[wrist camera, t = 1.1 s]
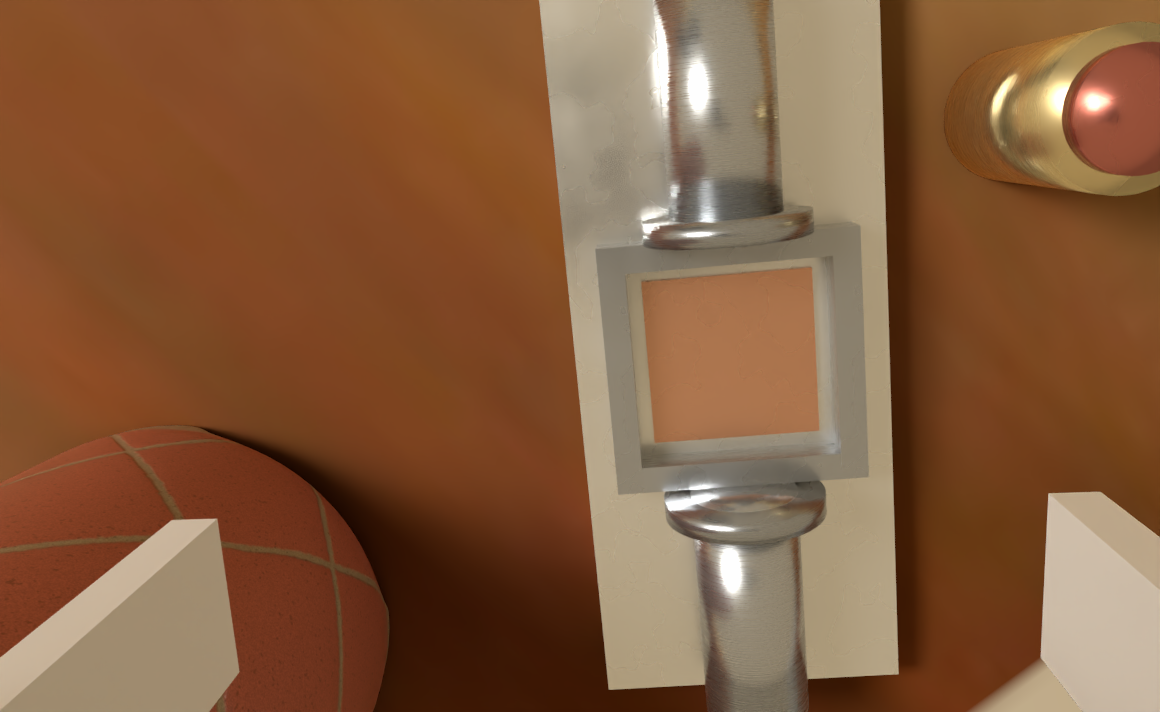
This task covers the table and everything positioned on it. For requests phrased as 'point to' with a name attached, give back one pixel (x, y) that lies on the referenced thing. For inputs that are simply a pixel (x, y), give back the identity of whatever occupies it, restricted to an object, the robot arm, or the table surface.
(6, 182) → the table surface
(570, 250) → the pipeline
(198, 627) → the robot arm
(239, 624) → the planter
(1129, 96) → the brass cylinder
